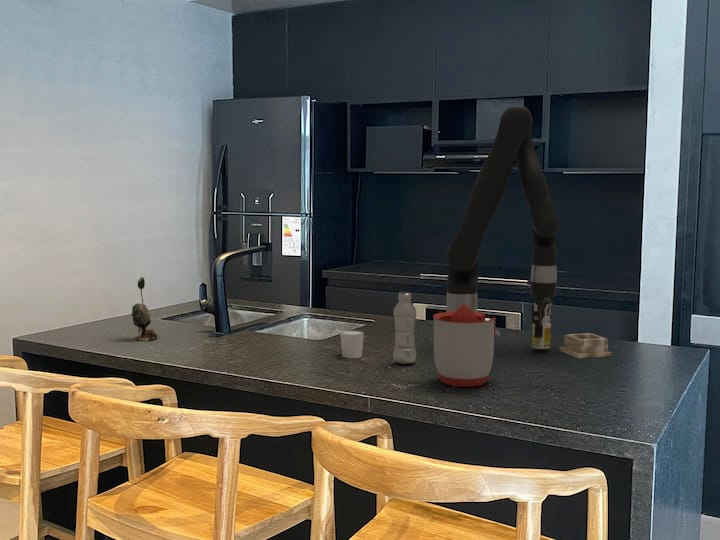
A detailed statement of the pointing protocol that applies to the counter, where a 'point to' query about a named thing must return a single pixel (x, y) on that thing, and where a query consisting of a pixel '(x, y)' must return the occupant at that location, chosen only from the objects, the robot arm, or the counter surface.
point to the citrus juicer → (463, 347)
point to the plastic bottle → (404, 329)
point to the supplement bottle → (545, 340)
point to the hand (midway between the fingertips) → (541, 335)
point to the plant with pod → (142, 318)
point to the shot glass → (352, 344)
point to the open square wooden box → (585, 345)
